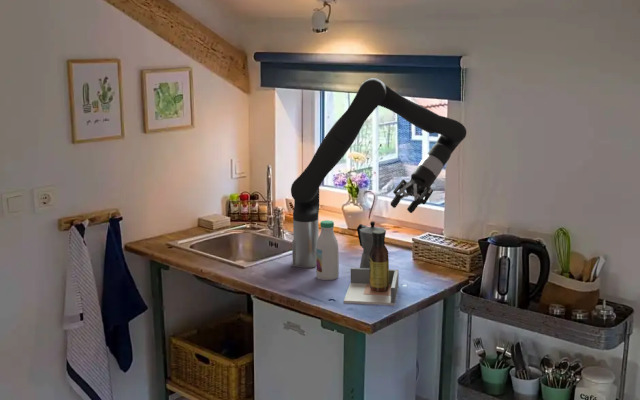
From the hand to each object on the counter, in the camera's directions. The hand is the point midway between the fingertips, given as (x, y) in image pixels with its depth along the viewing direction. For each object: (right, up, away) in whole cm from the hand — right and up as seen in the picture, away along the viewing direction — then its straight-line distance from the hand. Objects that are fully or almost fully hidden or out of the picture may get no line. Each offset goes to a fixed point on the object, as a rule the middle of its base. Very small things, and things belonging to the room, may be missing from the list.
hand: (400, 208), depth 244 cm
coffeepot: (-9, -22, +19) cm, 31 cm away
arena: (-10, -28, -5) cm, 30 cm away
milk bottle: (-24, -24, +12) cm, 36 cm away
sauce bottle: (-7, -27, -4) cm, 28 cm away
